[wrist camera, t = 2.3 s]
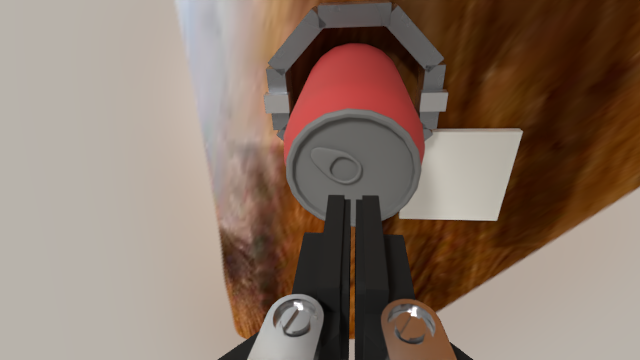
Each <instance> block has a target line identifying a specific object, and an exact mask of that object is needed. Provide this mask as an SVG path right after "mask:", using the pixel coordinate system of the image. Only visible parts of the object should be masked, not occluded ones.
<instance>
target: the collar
mask: <svg viewBox="0 0 640 360" xmlns="http://www.w3.org/2000/svg"><path fill="white" fill-rule="evenodd" d="M391 5H392V2H390V1H389V0H378V1H354V2H331V3H320V4H319V5H318V8H317V7H316V6H315V7H313V8H312V9H311V10H310V11H309V13H308V14H307V15H306V16H305V18H304V19H303V20H302V21H301V23H300V24H299V25H298V26H297V27H296V29H295V30H294V31H293V32H292V34H291V35H290V36H289V37H288V39H287V40H286V41H285V42H284V44H283V45H282V46H281V47H280V49H279V50H278V51H277V52H276V54H275V55H274V56H273V57H272V58H271V60H270V61H269V62H268V64H269V65H270V66H269V67H268V68H267V69H266V72H267V80H268V88H269V92H266V93H265V94H264V102H265V110H266V113H272V120H273V129H274V130H279V131H278V133H277V136H278V137H279V138H281V139H282V140H283V141H284V133H285V130H286V127H287V124H288V121H289V118H290V116H291V113H292V111H293V109H294V99H293V88H292V76H291V65H292V64H293V63H294V62H295V61H296V60H297V58H298V57H299V56H300V55H301V54H302V53H303V51H304V50H305V49H306V48H307V47H308V46H309V44H310V43H311V42H312V41H313V40H314V38H315V37H316V36H317V35H318V34H319V33H320V31H321V30H322V29H323V28H340V27H369V26H386V27H387V28H388V29H389V30H390V32H391V33H392V34H393V35H394V36H395V37H396V38H397V39H398V40H399V41H400V43H401V44H402V45H403V46H404V47H405V48H406V49H407V50H408V51H409V53H410V54H411V55H412V56H413V57H414V58H415V59H416V60H417V61H418V62H419V72H418V81H417V90H416V99H415V110H416V112H417V114H418V117H419V119H420V121H421V123H422V126H423V133H424V141H426V140H427V139H428V138H430V137H431V136H432V135H433V132H432V130H431V129H437V123H438V116H439V111H446V104H447V98H448V92H447V90H446V89H443V82H444V76H445V69H446V64H445V63H444V62H443V61H442V60H443V59H444V58H443V56H442V55H441V54H440V53H439V52H438V51H437V49H436V48H435V47H434V46H433V45H432V44H431V43H430V41H429V40H428V39H427V38H426V37H425V36H424V35H423V33H422V32H421V31H420V30H419V29H418V28H417V26H416V25H415V24H414V23H413V22H412V21H411V20H410V18H409V17H408V16H407V15H406V14H405V13H404V11H403V10H402V9H401V8H400V7H399V6H398V5H397V4H396V3H393V5H392V6H391Z"/></svg>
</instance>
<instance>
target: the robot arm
mask: <svg viewBox="0 0 640 360" xmlns="http://www.w3.org/2000/svg"><path fill="white" fill-rule="evenodd" d="M350 253H351V199H345V195H328V202H327V210H326V218H325V225H324V233H306V232H305V233H304V236H303V241H302V246H301V251H300V256H299V261H298V265H297V270H296V275H295V280H294V285H293V290H292V295H288V296H285V297H283V298H281V299H279V300H278V301H277V302H276V303H274V304H273V305H272V307H271V308H270V310H269V312H268V314H267V316H266V318H265V320H264V323H263V325H262V327H261V329H260V331H259V332H257V333H256V334H254V335H253V336H251V337H250V338H249V339H247V340H246V341H244V342H243V343H241V344H240V345H238V346H237V347H235V348H234V349H232V350H231V351H230V352H228V353H227V354H225V355H224V356H222V357H221V358H219V359H218V360H349V315H350ZM355 360H473V359H472V358H470V357H469V356H468V355H466V354H465V353H464V352H462V351H461V350H460V349H459V348H457V347H456V346H455V345H453V344H452V343H451V342H449V340H448V337H447V335H446V333H445V330H444V328H443V326H442V323H441V321H440V319H439V318H438V316H437V314H436V313H435V312H434V311H433V310H432V309H431V308H430V307H429V306H427V305H425V304H424V303H422V302H419V301H416V300H415V295H414V290H413V284H412V279H411V274H410V268H409V263H408V258H407V252H406V247H405V242H404V237H403V235H383V230H382V220H381V211H380V202H379V196H378V195H362V199H356V230H355Z"/></svg>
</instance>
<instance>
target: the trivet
mask: <svg viewBox="0 0 640 360" xmlns="http://www.w3.org/2000/svg"><path fill="white" fill-rule="evenodd" d="M431 130H432V132H433V135H432V136H431V137H430V138H428V139H427V140H426V141H425V153H424V158H423V162H422V166H421V169H422V171H421V175H420V180H419V184H418V188H417V190H416V192H415V193H414V195H413V196H412V198H411V199H410V201H409V202H408V204H407V205H406V206H404V207H403V208H402V209H401V210H400V211H399V214H398V215H399V219H440V220H489V221H497V218H498V215H499V212H500V208H501V205H502V201H503V198H504V195H505V191H506V188H507V184H508V181H509V177H510V174H511V171H512V167H513V164H514V160H515V157H516V154H517V150H518V147H519V143H520V140H521V136H522V133H523V131H522V130H521V129H520V128H496V129H431Z"/></svg>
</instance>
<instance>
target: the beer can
mask: <svg viewBox="0 0 640 360" xmlns="http://www.w3.org/2000/svg"><path fill="white" fill-rule="evenodd" d="M424 153H425V141H424V133H423V126H422V123H421V121H420V119H419V117H418V114H417V112H416V110H415V108H414V105H413V103H412V101H411V99H410V96H409V94H408V92H407V90H406V87H405V85H404V83H403V81H402V78H401V76H400V74H399V72H398V70H397V68H396V66H395V64H394V63H393V61H392V60H391V59H390V58H389V57H388V56H387V55H386V54H385V53H384V52H383V51H382V50H380V49H378V48H375V47H373V46H371V45H368V44H364V43H347V44H344V45H340V46H337V47H334V48H333V49H331V50H330V51H328V52H327V53H325V54H324V55H322V56H321V58H320V59H319V60H318V61H317V63H316V64H315V65H314V67H313V68H312V70H311V72H310V74H309V77H308V79H307V81H306V83H305V85H304V87H303V90H302V92H301V94H300V96H299V98H298V100H297V103H296V105H295V107H294V109H293V111H292V113H291V116H290V118H289V121H288V124H287V127H286V130H285V133H284V162H285V165H286V178H287V180H288V183H289V186H290V188H291V191H292V194H293V195H294V196H295V198H296V199H297V200H298V201H299V203H300V204H301V205H302V206H303V208H304V209H306V210H307V211H309V212H310V213H312V214H313V215H315V216H316V217H317V218H319V219H321V220H324V221H325V218H326V210H327V202H328V195H345V199H351V226H354V227H356V199H362V195H378V196H379V202H380V211H381V220H382V221H383V220H385V219H387V218H390V217H392V216H394V215H395V214H396V213H397V212H398V211H400V210H401V209H402V208H403V207H404V206H406V205H407V204H408V202H409V201H410V199H411V198H412V196H413V195H414V193H415V192H416V190H417V188H418V184H419V180H420V175H421V171H422V169H421V166H422V162H423V158H424Z"/></svg>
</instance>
